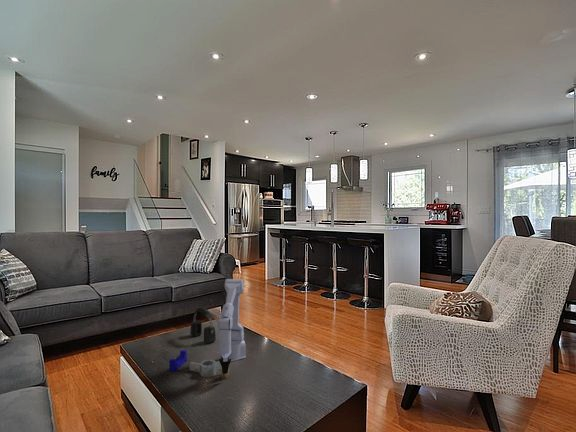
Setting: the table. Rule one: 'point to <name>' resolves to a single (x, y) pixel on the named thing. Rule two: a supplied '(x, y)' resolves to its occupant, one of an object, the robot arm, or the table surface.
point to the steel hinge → (205, 367)
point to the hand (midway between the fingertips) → (225, 369)
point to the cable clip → (178, 361)
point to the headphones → (208, 331)
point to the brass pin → (224, 376)
